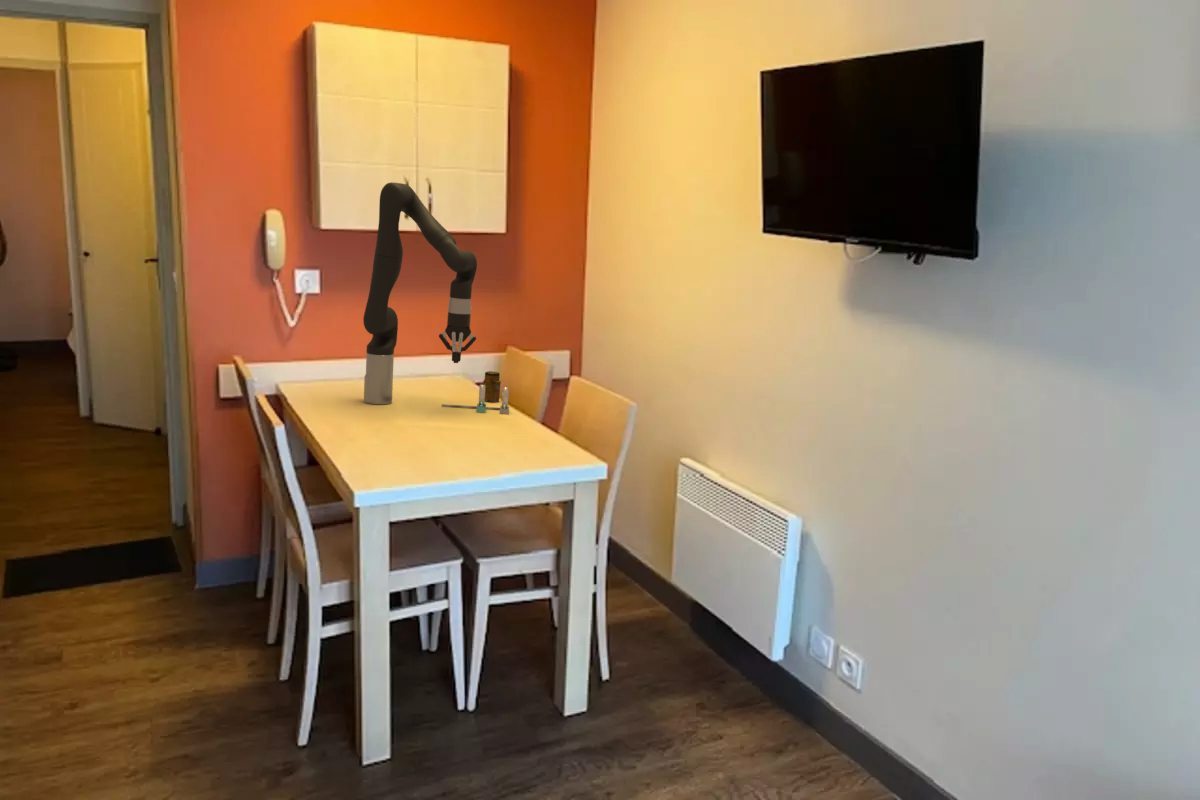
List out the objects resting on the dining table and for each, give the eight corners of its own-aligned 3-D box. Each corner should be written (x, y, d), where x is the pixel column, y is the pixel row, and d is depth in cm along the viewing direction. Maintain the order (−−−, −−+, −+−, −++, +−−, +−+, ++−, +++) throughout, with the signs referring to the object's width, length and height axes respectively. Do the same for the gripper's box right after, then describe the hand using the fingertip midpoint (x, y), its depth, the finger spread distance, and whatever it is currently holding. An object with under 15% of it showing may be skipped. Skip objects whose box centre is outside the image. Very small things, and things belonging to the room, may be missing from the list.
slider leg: (476, 412, 316) (477, 386, 314) (477, 409, 321) (478, 383, 319) (485, 412, 316) (486, 386, 315) (485, 409, 321) (487, 384, 319)
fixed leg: (499, 414, 317) (501, 388, 315) (500, 411, 322) (501, 385, 320) (508, 415, 317) (510, 389, 315) (508, 412, 322) (510, 386, 320)
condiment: (493, 402, 342) (495, 370, 339) (506, 407, 335) (508, 374, 333) (476, 404, 337) (478, 371, 335) (489, 408, 331) (491, 375, 328)
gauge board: (436, 418, 309) (436, 411, 309) (440, 409, 323) (440, 403, 323) (509, 422, 311) (509, 416, 311) (510, 413, 325) (510, 407, 325)
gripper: (438, 311, 307) (435, 363, 311) (478, 314, 308) (475, 366, 312) (440, 308, 314) (437, 359, 318) (480, 312, 316) (476, 362, 319)
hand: (456, 362), depth 315 cm, fingers closed
